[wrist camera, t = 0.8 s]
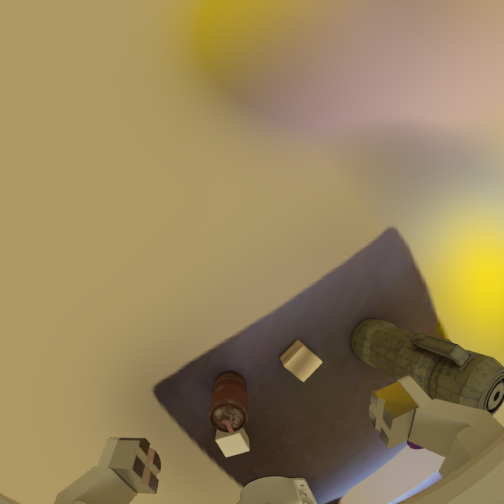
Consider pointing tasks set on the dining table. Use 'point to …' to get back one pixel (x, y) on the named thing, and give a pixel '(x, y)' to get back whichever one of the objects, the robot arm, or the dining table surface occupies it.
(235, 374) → the can
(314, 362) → the maple block
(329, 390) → the dining table surface
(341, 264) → the dining table surface
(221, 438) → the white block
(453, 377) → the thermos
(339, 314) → the dining table surface
